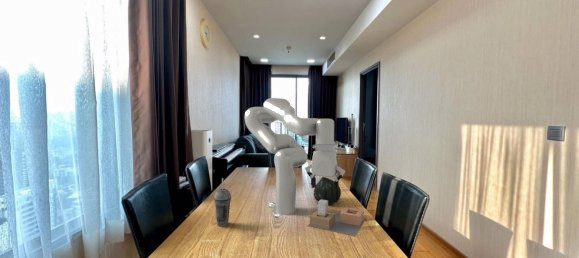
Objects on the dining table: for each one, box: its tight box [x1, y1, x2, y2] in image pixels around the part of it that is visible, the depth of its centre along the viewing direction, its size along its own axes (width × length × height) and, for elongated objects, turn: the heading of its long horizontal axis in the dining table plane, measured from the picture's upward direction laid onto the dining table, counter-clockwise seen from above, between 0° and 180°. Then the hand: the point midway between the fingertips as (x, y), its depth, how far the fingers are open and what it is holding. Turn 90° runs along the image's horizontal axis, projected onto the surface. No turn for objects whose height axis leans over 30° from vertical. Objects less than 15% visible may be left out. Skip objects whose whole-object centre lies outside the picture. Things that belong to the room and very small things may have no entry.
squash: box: [313, 176, 342, 206], centre depth 147 cm, size 14×15×15 cm
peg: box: [317, 200, 329, 218], centre depth 114 cm, size 3×3×10 cm
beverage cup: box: [213, 177, 232, 228], centre depth 116 cm, size 7×7×20 cm
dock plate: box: [307, 206, 366, 237], centre depth 117 cm, size 20×20×6 cm
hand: (324, 188), depth 113 cm, fingers open, 9 cm apart
